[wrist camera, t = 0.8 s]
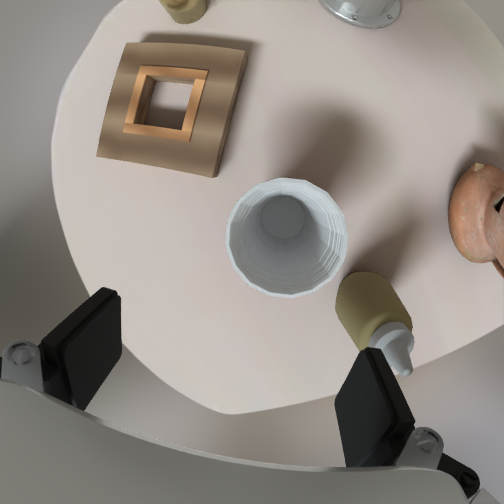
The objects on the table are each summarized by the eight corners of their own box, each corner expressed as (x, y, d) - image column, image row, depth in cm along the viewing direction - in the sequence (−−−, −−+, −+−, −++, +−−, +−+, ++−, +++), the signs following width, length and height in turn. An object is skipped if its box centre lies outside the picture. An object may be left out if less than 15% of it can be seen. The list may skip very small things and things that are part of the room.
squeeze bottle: (323, 312, 40) (351, 403, 22) (338, 258, 37) (385, 330, 20) (374, 318, 39) (421, 402, 22) (390, 267, 37) (458, 335, 20)
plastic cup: (251, 163, 34) (242, 161, 23) (335, 189, 35) (365, 200, 23) (228, 245, 38) (210, 281, 26) (308, 268, 38) (323, 312, 26)
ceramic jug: (427, 169, 33) (493, 180, 19) (492, 145, 30) (556, 151, 17) (448, 281, 38) (499, 327, 24) (507, 249, 35) (560, 279, 21)
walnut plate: (135, 49, 30) (125, 42, 27) (247, 59, 30) (245, 49, 27) (107, 156, 35) (95, 156, 32) (216, 176, 35) (211, 177, 32)
